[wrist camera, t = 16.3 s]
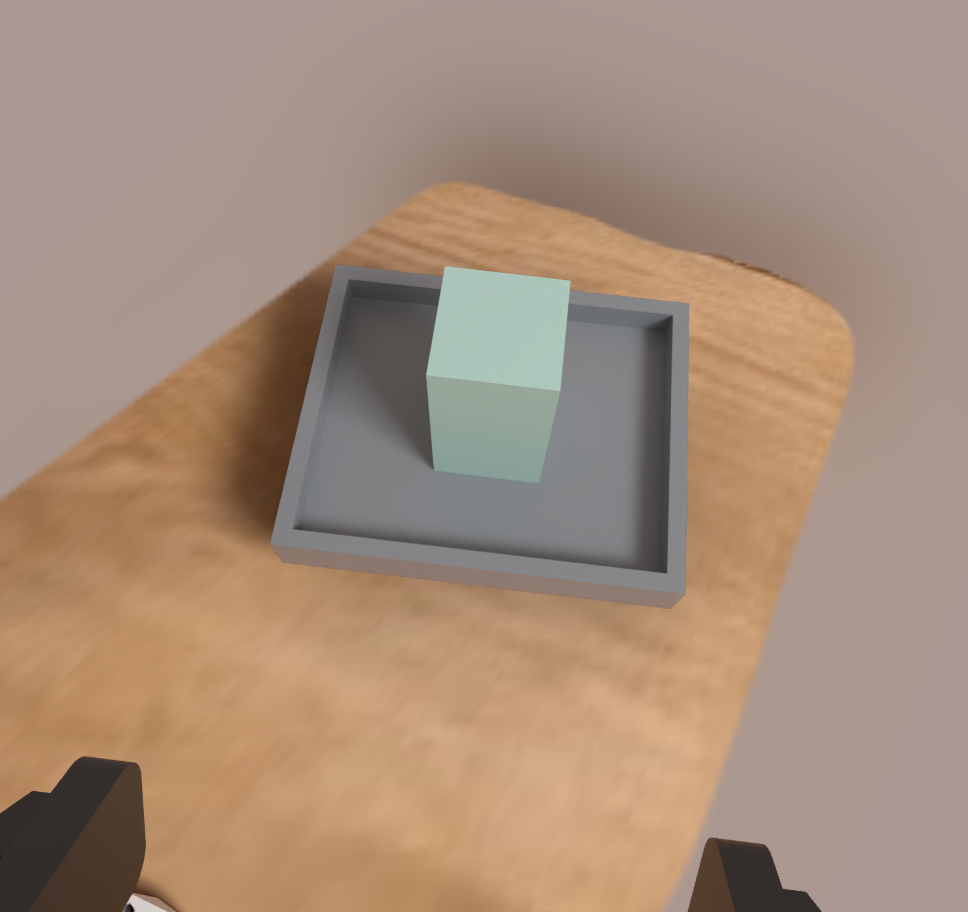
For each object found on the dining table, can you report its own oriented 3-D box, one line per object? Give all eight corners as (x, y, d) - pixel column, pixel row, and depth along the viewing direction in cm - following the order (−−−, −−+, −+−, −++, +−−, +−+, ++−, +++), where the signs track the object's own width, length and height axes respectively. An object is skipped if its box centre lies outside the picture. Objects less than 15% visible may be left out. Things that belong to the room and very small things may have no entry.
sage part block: (433, 470, 38) (426, 375, 30) (448, 378, 40) (445, 266, 32) (539, 483, 38) (560, 391, 30) (548, 390, 40) (570, 280, 32)
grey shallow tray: (294, 579, 40) (269, 544, 35) (349, 326, 46) (335, 264, 41) (656, 623, 40) (685, 593, 34) (663, 362, 46) (689, 303, 41)
